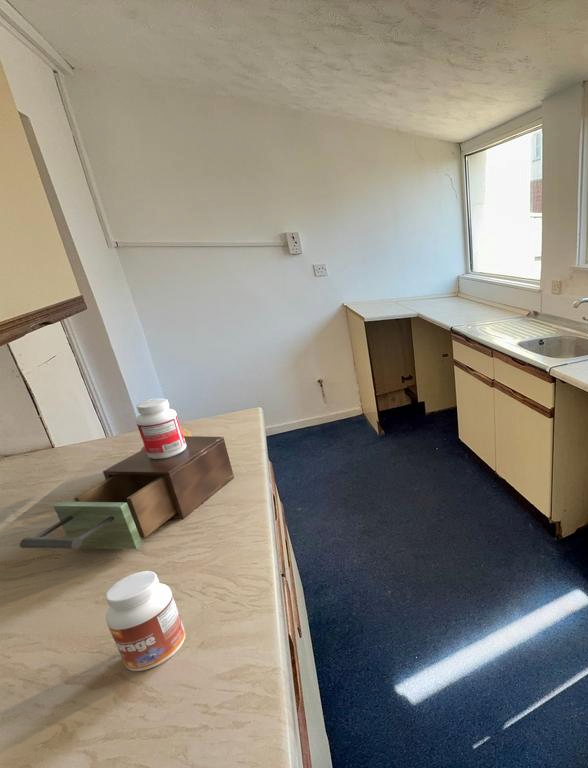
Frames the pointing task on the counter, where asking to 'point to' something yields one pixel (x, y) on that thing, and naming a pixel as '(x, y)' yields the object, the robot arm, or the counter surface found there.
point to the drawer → (110, 514)
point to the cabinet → (185, 471)
